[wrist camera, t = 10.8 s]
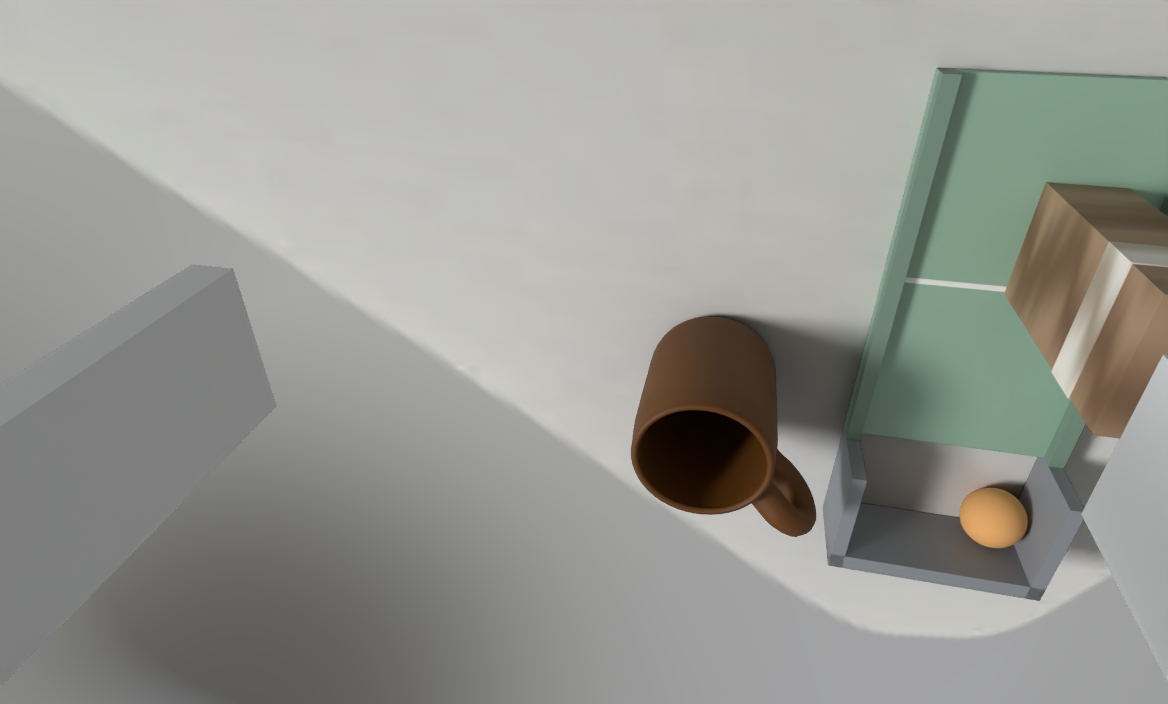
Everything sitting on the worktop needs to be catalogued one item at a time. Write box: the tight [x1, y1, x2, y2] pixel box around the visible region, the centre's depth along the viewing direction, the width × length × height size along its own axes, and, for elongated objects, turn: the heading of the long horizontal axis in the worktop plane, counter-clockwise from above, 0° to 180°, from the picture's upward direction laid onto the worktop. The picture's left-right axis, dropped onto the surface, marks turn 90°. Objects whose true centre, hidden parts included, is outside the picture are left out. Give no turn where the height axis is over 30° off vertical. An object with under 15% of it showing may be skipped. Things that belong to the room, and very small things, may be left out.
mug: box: [631, 316, 816, 537], centre depth 40 cm, size 12×8×9 cm, turn 51°
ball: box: [960, 488, 1028, 548], centre depth 43 cm, size 4×4×4 cm
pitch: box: [823, 68, 1168, 601], centre depth 37 cm, size 28×12×5 cm, turn 179°
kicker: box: [1004, 182, 1168, 438], centre depth 30 cm, size 6×4×12 cm, turn 179°
